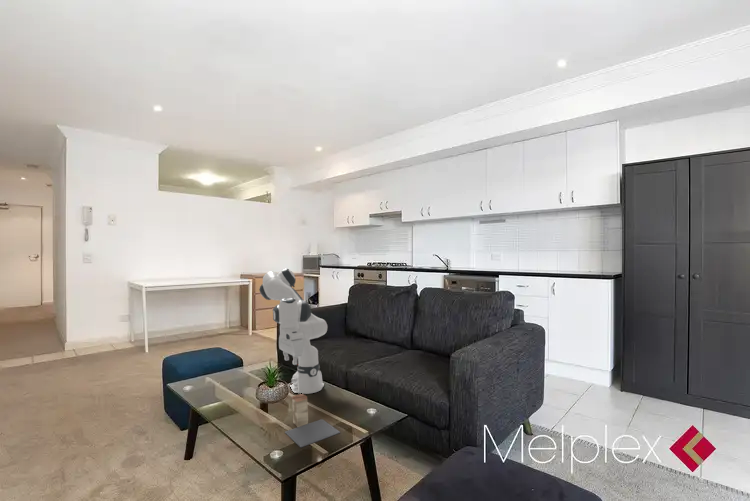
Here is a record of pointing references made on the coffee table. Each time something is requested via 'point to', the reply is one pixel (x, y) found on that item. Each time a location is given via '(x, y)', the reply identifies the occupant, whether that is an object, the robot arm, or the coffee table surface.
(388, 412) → the coffee table surface
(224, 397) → the coffee table surface
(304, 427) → the rubber mat
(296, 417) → the birch block
